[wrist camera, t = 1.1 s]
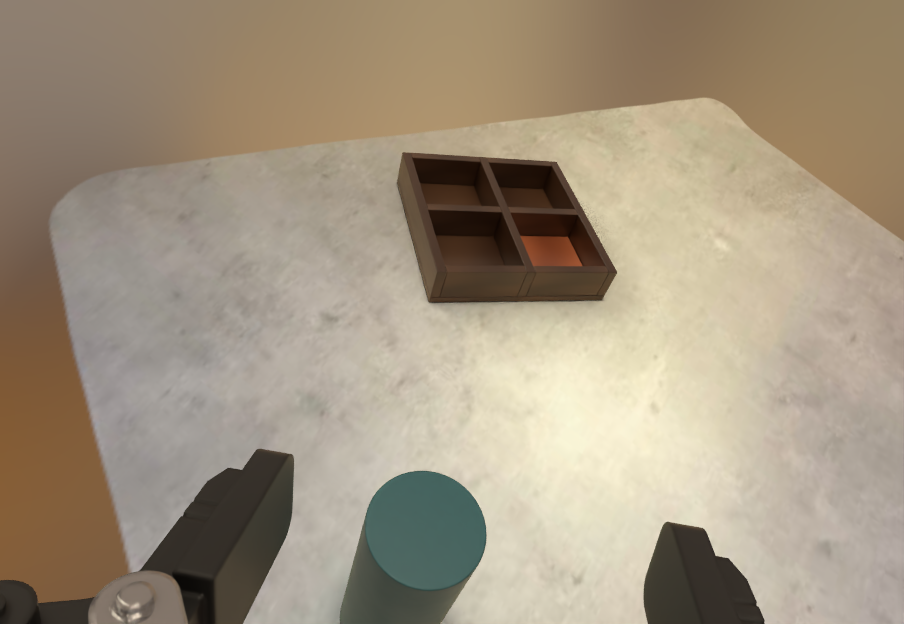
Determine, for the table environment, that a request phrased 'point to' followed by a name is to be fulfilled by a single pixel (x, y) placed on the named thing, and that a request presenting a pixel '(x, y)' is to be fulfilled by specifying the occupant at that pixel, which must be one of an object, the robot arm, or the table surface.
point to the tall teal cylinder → (414, 551)
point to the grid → (500, 231)
